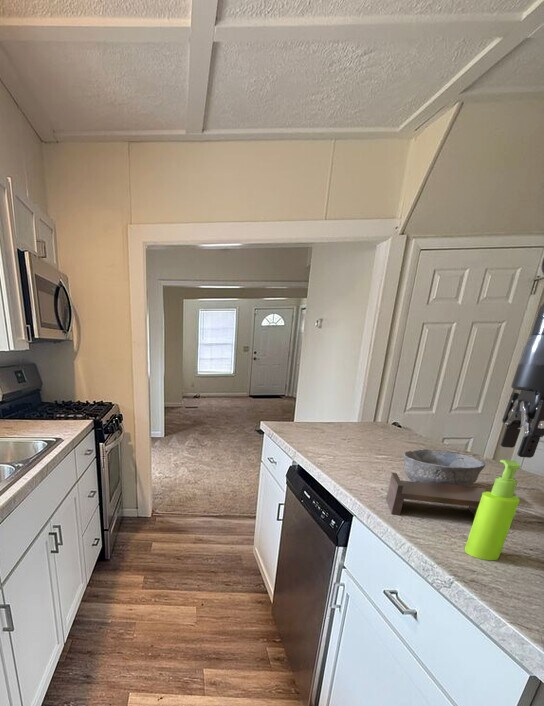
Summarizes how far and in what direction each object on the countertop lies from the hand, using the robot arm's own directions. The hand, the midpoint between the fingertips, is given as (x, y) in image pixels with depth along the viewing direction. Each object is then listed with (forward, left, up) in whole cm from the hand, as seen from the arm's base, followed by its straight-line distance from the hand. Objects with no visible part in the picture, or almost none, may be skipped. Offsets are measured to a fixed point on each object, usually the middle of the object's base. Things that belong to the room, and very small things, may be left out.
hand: (515, 451), depth 77 cm
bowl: (0, -44, -22) cm, 49 cm away
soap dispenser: (0, 0, -22) cm, 22 cm away
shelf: (+4, -23, -22) cm, 32 cm away
